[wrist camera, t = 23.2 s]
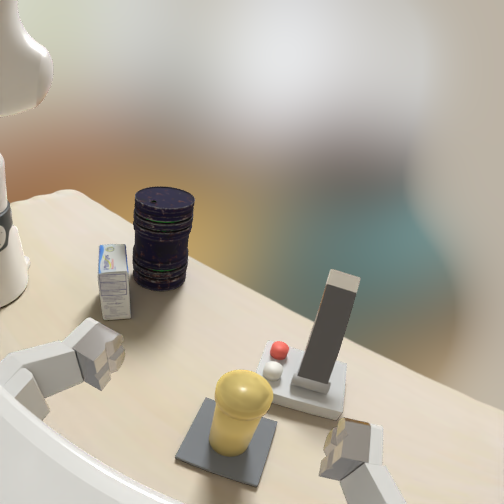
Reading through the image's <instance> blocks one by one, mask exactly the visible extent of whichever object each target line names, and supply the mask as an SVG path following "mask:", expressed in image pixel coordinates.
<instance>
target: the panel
mask: <svg viewBox="0 0 504 504" xmlns="http://www.w3.org/2000/svg"><path fill="white" fill-rule="evenodd" d="M304 352H305V351H301V350H298V349H295V348H292V347H289V346H288V345H287V344H285V343H284V342H280V341H277V342H273V341H270V340H268V341H267V344H266V346H265V349H264V352H263V354H262V357H261V360H260V362H259V365H258V368H257V370H256V373H257V374H259V375H261V376H262V377H263V378H265V379H266V380H267V381H268V383H269V384H270V386H271V388H272V390H273V401H272V403H274V404H277V405H281V406H284V407H287V408H291V409H294V410H298V411H301V412H305V413H309V414H313V415H316V416H320V417H324V418H328V419H332V420H337V419H338V418H339V417H340V415H341V414H342V413H343V404H344V393H345V381H346V368H347V363H343V362H339V361H336V362H335V365H334V368H333V371H332V373H331V376H330V379H329V382H331V386H330V389H329V392H328V393H327V394H324V393H320V392H316V391H313V390H309V389H306V388H302V387H299V386H295V385H292V384H290V383H291V379H292V377H293V374H294V372H296V373H297V372H298V369H299V367H300V364H301V361H302V358H303V355H304Z"/></svg>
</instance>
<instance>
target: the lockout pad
mask: <svg viewBox="0 0 504 504" xmlns="http://www.w3.org/2000/svg"><path fill="white" fill-rule="evenodd" d="M215 406H216V402H215V401H214V400H211V399H209V398H205V400H204V402H203V404H202V406H201V408H200V410H199V412H198V414H197V415H196V417H195V419H194V421H193V423H192V425H191V427H190V429H189V431H188V433H187V435H186V437H185V439H184V441H183V442H182V444H181V446H180V448H179V450H178V452H177V454H176V456H175V458H176V459H179V460H181V461H183V462H186V463H188V464H191V465H193V466H196V467H198V468H201V469H203V470H206V471H209V472H212V473H214V474H217V475H220V476H223V477H226V478H229V479H232V480H235V481H238V482H241V483H244V484H248V485H251V486H255V487H257V486H258V483H259V480H260V477H261V474H262V471H263V468H264V464H265V461H266V458H267V455H268V452H269V448H270V445H271V442H272V439H273V435H274V432H275V428H276V425H277V421H273V420H270V419H267V418H263V417H261V419H260V422H259V424H258V426H257V428H256V430H255V432H254V435H253V437H252V439H251V441H250V443H249V445H248V447H247V449H246V450H245V452H243V453H242V454H240V455H238V456H234V457H227V456H223V455H220V454H218V453H217V452H216V451H214V450H213V448H212V447H211V445H210V442H209V435H210V430H211V425H212V421H213V416H214V411H215Z"/></svg>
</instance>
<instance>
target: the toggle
mask: <svg viewBox="0 0 504 504" xmlns="http://www.w3.org/2000/svg"><path fill="white" fill-rule="evenodd" d="M359 282H360V278H359V277H356V276H353V275H350V274H346V273H343V272H340V271H337V270H333V269H331V270H330V272H329V276H328V279H327V283H326V286H325V289H324V293H323V296H322V300H321V303H320V307H319V309H318V312H317V316H316V319H315V322H314V325H313V328H312V331H311V334H310V337H309V340H308V343H307V346H306V349H305V352H304V355H303V358H302V361H301V364H300V367H299V369H298V372H297V373H296V372H294V374H293V377H292V379H291V383H290V384H292V385H295V386H299V387H302V388H306V389H309V390H313V391H316V392H320V393H324V394H327V393H328V392H329V389H330V386H331V382H329V379H330V376H331V373H332V371H333V368H334V365H335V362H336V359H337V356H338V353H339V350H340V347H341V344H342V340H343V337H344V334H345V331H346V327H347V324H348V321H349V317H350V314H351V310H352V307H353V304H354V300H355V297H356V293H357V290H358V286H359Z"/></svg>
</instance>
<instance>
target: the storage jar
mask: <svg viewBox="0 0 504 504" xmlns="http://www.w3.org/2000/svg"><path fill="white" fill-rule="evenodd" d="M194 201H195V199H194V197H193V195H191V194H190V193H188V192H186V191H184V190H180V189H177V188H171V187H149V188H145V189H142V190H140V191H138V192H137V193H136V194H135V209H134V222H133V225H134V230H135V245H134V247H133V269H134V271H133V277H134V279H135V281H136V282H137V283H138V284H139V285H140V286H142V287H144V288H146V289H149V290H154V291H169V290H173V289H176V288H178V287H179V286H181V285H182V284H183V283H184V281H185V278H186V269H187V265H188V248H187V247H188V238H189V233H190V232H191V228H192V221H193V206H194Z"/></svg>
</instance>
